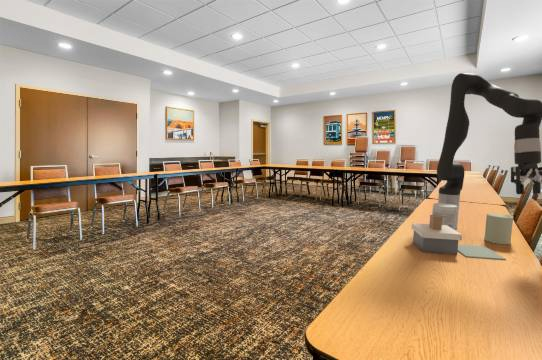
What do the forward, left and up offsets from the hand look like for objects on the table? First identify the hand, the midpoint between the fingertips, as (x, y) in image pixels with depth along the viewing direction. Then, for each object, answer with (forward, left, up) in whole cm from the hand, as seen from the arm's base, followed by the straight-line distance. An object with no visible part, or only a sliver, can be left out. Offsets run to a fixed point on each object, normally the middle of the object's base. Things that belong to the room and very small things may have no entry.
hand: (528, 193), depth 107 cm
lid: (+3, -32, -17) cm, 37 cm away
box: (+3, -32, -23) cm, 40 cm away
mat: (+4, -18, -23) cm, 29 cm away
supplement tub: (-15, -22, -23) cm, 36 cm away
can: (-13, -1, -23) cm, 27 cm away
